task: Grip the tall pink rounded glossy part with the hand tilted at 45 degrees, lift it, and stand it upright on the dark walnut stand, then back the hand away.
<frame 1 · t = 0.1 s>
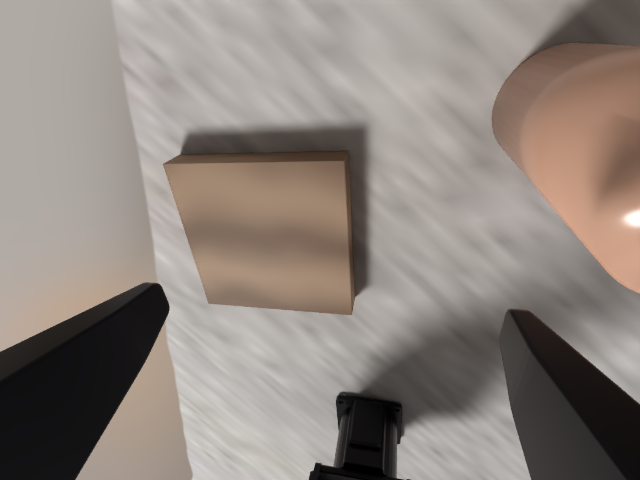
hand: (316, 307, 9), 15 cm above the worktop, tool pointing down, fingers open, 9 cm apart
walnut stand: (273, 231, 26), on the worktop
pink rounded glossy part: (554, 108, 18), on the worktop
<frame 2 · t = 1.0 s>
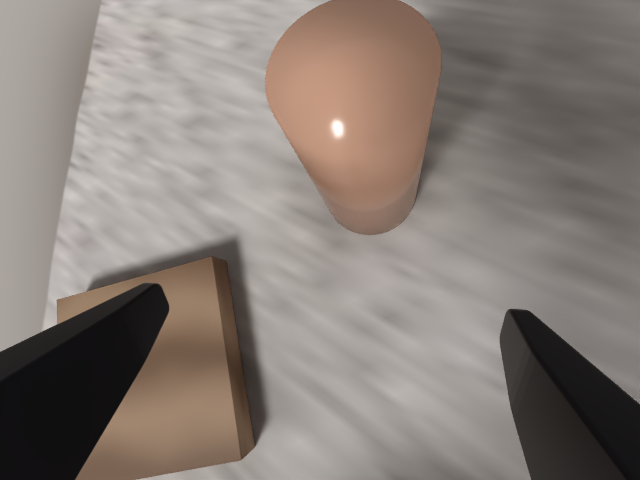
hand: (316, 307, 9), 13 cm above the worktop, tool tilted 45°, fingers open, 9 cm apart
walnut stand: (159, 366, 23), on the worktop
pink rounded glossy part: (370, 191, 23), on the worktop
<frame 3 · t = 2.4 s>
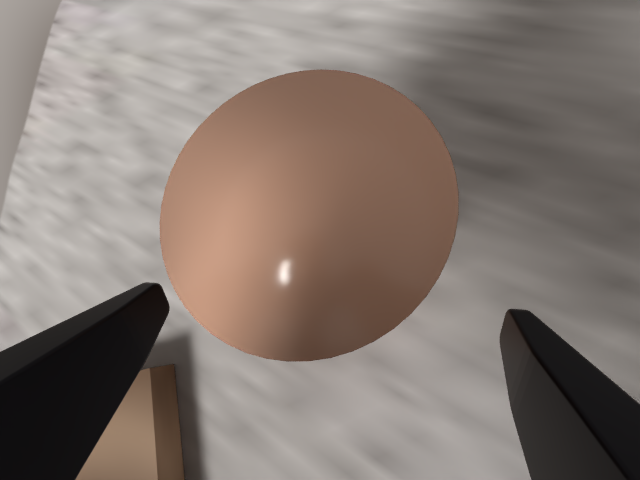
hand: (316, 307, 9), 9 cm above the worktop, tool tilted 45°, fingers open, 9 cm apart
pink rounded glossy part: (356, 280, 18), on the worktop
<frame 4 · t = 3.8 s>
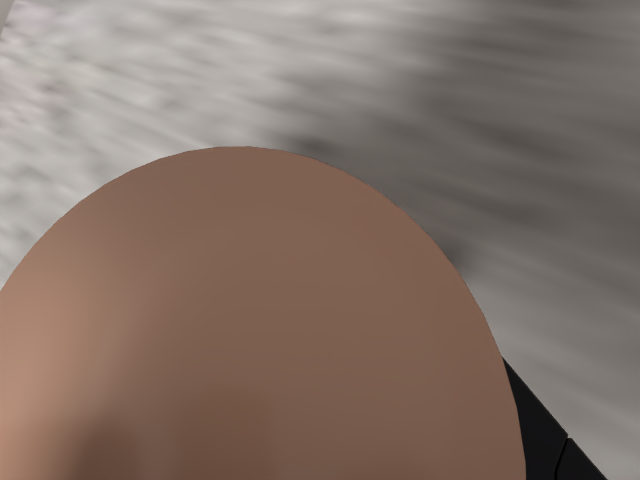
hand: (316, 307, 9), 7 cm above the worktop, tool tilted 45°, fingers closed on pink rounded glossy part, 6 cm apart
pink rounded glossy part: (345, 346, 15), on the worktop, touching gripper
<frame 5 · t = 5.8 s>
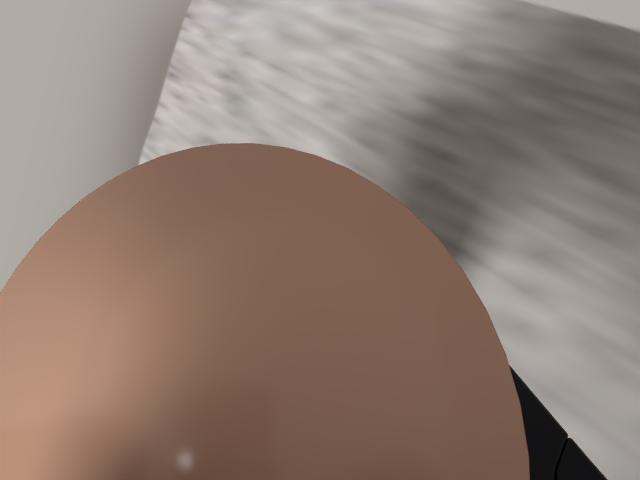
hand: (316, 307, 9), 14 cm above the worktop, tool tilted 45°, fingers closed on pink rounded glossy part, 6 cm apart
pink rounded glossy part: (346, 345, 15), point 7 cm above the worktop, touching gripper
when the fingers open (10 cm above the worktop, at t = 8.0 s): pink rounded glossy part drops 1 cm, resting on walnut stand.
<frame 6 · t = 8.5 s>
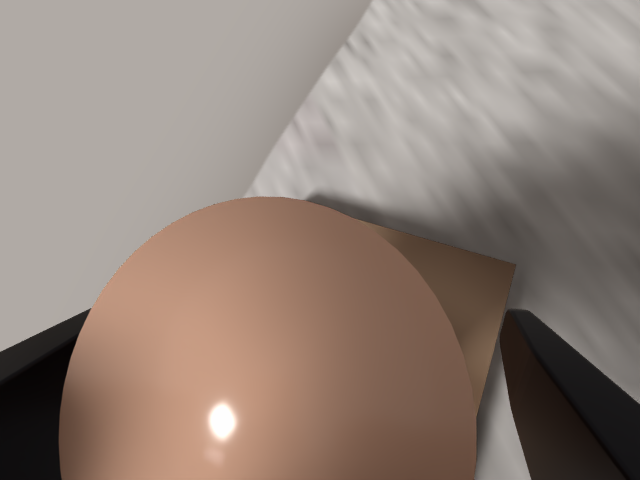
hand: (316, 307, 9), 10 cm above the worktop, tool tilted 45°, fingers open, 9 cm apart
walnut stand: (354, 342, 18), on the worktop
pink rounded glossy part: (349, 345, 16), point 2 cm above the worktop, touching walnut stand
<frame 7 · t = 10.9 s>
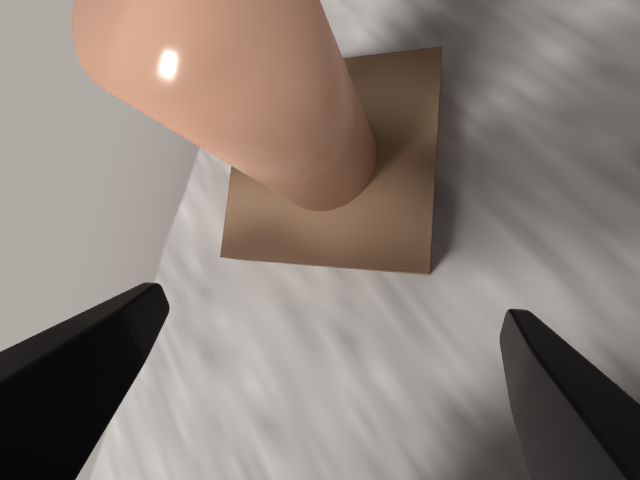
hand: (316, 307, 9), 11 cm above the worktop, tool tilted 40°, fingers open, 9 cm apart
walnut stand: (333, 170, 21), on the worktop
pink rounded glossy part: (323, 159, 19), point 2 cm above the worktop, touching walnut stand
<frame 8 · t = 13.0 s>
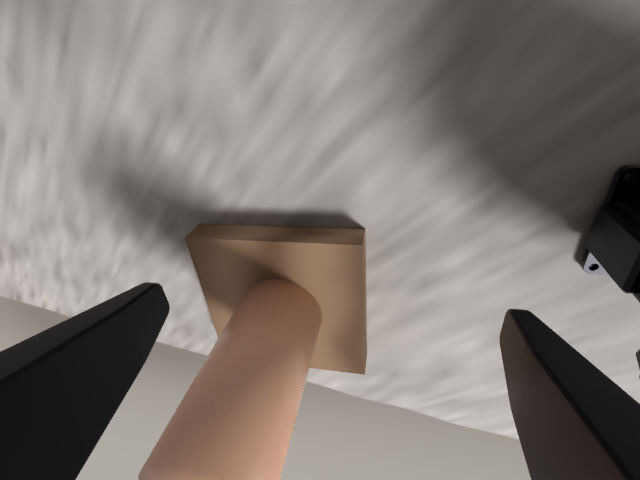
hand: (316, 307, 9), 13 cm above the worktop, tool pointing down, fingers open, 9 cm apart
walnut stand: (289, 293, 26), on the worktop
pink rounded glossy part: (281, 311, 25), point 2 cm above the worktop, touching walnut stand
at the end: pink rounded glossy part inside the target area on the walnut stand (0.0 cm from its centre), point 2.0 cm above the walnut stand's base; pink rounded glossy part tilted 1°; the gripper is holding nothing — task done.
